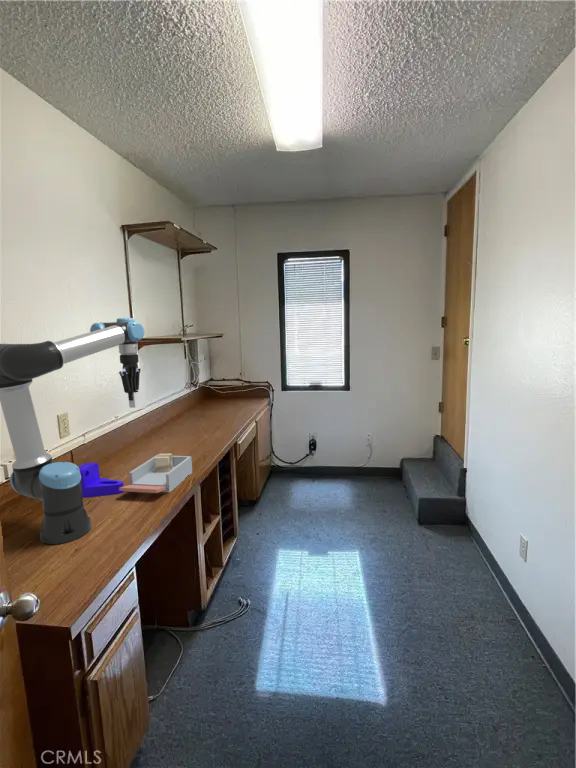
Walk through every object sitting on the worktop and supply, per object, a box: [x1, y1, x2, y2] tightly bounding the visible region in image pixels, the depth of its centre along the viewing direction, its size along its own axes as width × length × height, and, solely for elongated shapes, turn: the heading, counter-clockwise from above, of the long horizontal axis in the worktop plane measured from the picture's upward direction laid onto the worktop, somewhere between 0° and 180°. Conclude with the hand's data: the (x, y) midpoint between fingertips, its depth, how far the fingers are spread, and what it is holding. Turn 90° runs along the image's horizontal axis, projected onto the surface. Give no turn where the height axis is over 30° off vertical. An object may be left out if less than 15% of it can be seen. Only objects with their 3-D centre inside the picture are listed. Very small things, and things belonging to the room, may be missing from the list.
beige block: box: [155, 453, 173, 473], centre depth 179 cm, size 6×6×7 cm
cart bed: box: [128, 454, 193, 493], centre depth 173 cm, size 24×19×8 cm
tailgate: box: [119, 484, 166, 494], centre depth 158 cm, size 8×16×2 cm, turn 80°
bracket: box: [78, 462, 125, 499], centre depth 163 cm, size 18×11×12 cm, turn 85°
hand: (133, 407), depth 170 cm, fingers closed
